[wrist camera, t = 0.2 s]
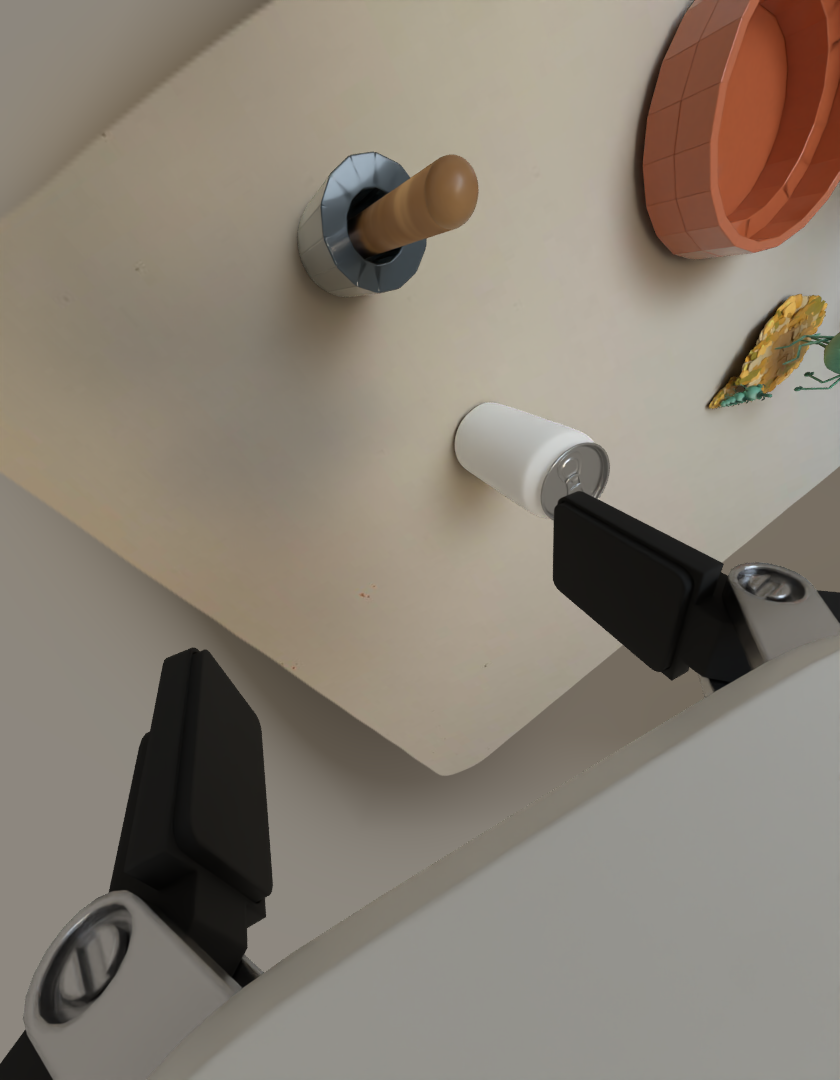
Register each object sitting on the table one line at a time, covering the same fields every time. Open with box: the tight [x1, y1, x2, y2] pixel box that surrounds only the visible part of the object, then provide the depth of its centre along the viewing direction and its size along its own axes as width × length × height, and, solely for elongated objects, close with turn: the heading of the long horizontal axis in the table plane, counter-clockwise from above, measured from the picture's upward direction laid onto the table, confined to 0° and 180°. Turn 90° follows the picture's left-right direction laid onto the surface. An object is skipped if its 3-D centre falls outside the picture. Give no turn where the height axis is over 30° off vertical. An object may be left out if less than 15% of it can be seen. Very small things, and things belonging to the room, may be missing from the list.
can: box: [455, 402, 610, 520], centre depth 31 cm, size 6×6×12 cm
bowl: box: [643, 0, 840, 260], centre depth 28 cm, size 16×16×6 cm
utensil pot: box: [297, 152, 426, 297], centre depth 22 cm, size 5×5×8 cm
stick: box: [347, 155, 478, 259], centre depth 18 cm, size 2×2×16 cm
